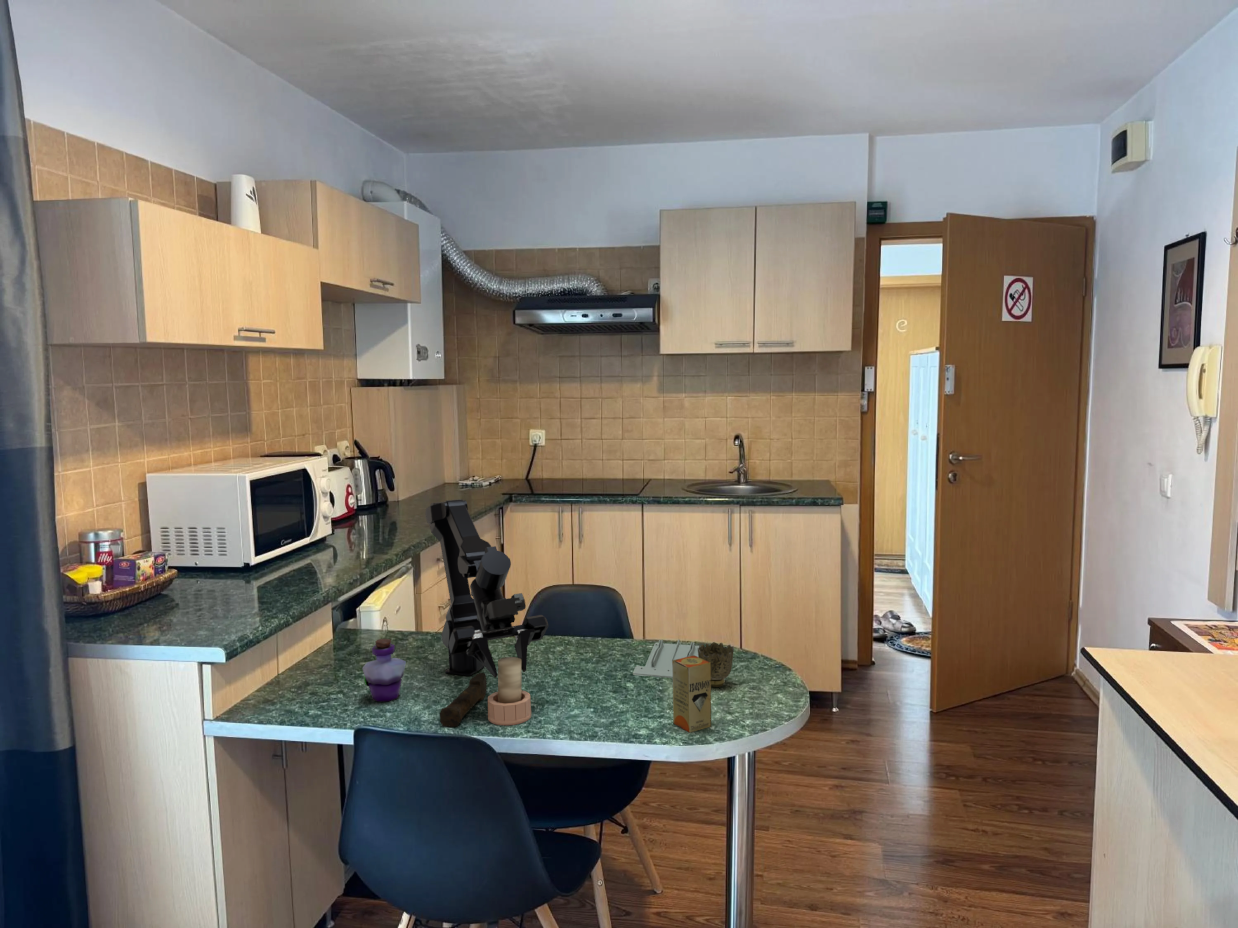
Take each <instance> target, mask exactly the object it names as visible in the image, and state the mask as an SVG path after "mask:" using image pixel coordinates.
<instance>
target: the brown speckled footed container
mask: <svg viewBox="0 0 1238 928" xmlns="http://www.w3.org/2000/svg"><path fill="white" fill-rule="evenodd" d="M698 646H699V649H698V656H699V658H701V659H704V660H706V661H708V662H711V688H719V687H720V688H721V687H723V686H724V685H725V683H726V680H725V679H726V678H728V677H729V675H730V674H731V672H732V667H733V660H734V650H735V649H734V648H735V647H734V646H732V645H731V644H730V643H729V644H728V645H727V646H724V643H723V642H719V644H718V643H717V642H715V641H714V642H711V643H710V644H709V643H708V642H706V643H705V645H704V644H698Z"/></svg>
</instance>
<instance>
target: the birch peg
mask: <svg viewBox="0 0 1238 928" xmlns="http://www.w3.org/2000/svg"><path fill="white" fill-rule="evenodd" d="M521 690H522V669H521V659H520V658H518V657H517V656H516V657H515V656H505V657H501V658H498V661H497V692H498V703H505V704H506V703H515V702H518V701H521Z"/></svg>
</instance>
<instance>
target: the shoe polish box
mask: <svg viewBox="0 0 1238 928" xmlns="http://www.w3.org/2000/svg"><path fill="white" fill-rule="evenodd" d="M672 668H673V678H672V708H673V709H672V711H673V712H672V713H673V715H672V716H673V717H672V718H673V721H672V723H673V725H675V726H677V727H679V728H680V729H683V731H686V732H687V733H694V732H697V731H700V730H703V729H708V728H711V727H712V686H711V662H708V661H706V660H704V659H701V658H699V657H697V656H695V655H693V656H689V657H685V658H681V659H676V660H672Z"/></svg>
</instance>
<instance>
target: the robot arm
mask: <svg viewBox="0 0 1238 928" xmlns="http://www.w3.org/2000/svg"><path fill="white" fill-rule="evenodd" d="M425 519H426V523H427V524H428V525H429V530H430V532H431V534H432V535H433V537H435V538H436V539H437V540H438V542H439V543H440V549H441V554H442V555H441V556H442V559H443V560H442V561H443V567H444V572H445V578H446V583H447V588H448V594H449V601H450V604H449V607H448V609H447V612H446V615H445V622H444V624H443V628H442V632H441V640H442V644H443V645H444V646H445V648H447V650H448V668H447V669H445V671H444V672H445V674H452V675H459V676H460V675H461V676H469V677H470V676H472V675H473V674H475V673H477V672H478V671H480V670H481V669H484V668H485V669H486V670H487V671H488V673H490V674H491V675H492V677H493V678H498V669H497V668H496V667H497V666H496V664H495V661H494V659H493V655H492V653H491V650H490V647H489V641H494V640H498V639H504V638H505V639H506V638H512V637H515V640H516V642H515V644H514V650H515V653H516V657H517V658H520V659H521V672H523V673H526V671H527V662H528V661H527V658H528V646H529V645H530V644H531V642H537V641H540V640H542V639H543V638H544V635H545V634H546V632H547V630H548V628H549V626H550V625H549V623H548V619H547V618H546V616H544V615H543V614H538V615H533V616H525V618H524V621H523V623H522V624H518V625H517V624H516V625H513V624H512V623H515V620H516V617H515V616H517V615H519V612H523V611H524V610H525V609H526V600H525V598H524V593H522V592H521V593H514V594H513V595H511V596H510V597H507V598H506V597H504V595H503V592H502V587H503V586H504V585H505V582H506V579H507V577H508V574H509V572H510V569H511V565H512V562H511V558H510V557H509V556H508V555H507V554H506V553H504V552H503V551H500V550H498V549H497V546H492V545H491V543H490V542H489V541H486V540H484V539H482V538H481V536H480V535H479V532H478V531H477V528H476V526H475V524H474V521H473V519H472V517H471V515H470V512H469V506H468V503H467V500H466V499H464V500H463V499H462V498H460V499H449V500H445V501H440V502H439V501H438V502H431V503H430V505H429V506H428V507H427V508H426V509H425ZM471 578H472V579H473V580H472V581H471V582H470V583H471V584H469V579H471Z"/></svg>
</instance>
